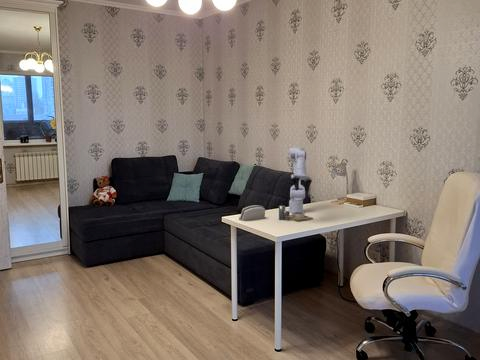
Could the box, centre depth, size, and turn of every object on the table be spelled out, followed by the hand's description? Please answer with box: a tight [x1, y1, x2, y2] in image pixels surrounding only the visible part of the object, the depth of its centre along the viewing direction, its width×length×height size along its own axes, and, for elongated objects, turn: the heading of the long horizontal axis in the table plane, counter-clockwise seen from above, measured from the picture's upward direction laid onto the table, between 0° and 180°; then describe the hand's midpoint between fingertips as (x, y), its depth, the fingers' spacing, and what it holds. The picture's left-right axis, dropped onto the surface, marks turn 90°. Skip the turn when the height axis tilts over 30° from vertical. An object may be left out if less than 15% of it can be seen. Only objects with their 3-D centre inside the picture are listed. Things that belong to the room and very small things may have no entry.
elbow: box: [278, 205, 291, 221], centre depth 267 cm, size 8×4×8 cm, turn 31°
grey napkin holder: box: [238, 204, 266, 222], centre depth 270 cm, size 17×5×10 cm, turn 118°
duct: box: [285, 212, 314, 223], centre depth 270 cm, size 14×12×4 cm
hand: (302, 190), depth 259 cm, fingers open, 7 cm apart
